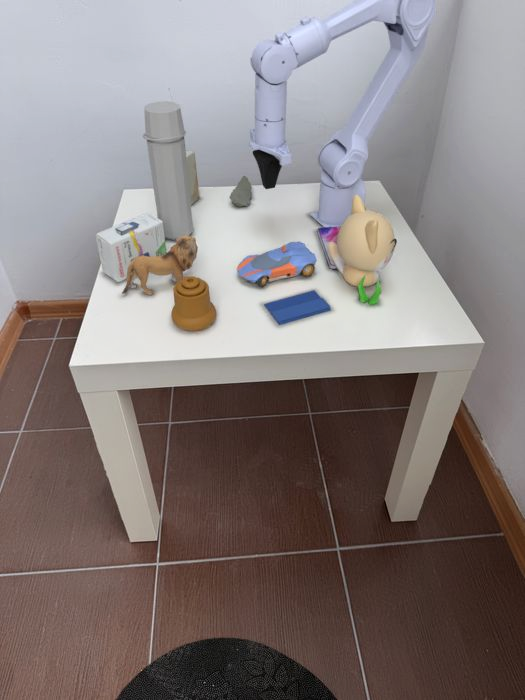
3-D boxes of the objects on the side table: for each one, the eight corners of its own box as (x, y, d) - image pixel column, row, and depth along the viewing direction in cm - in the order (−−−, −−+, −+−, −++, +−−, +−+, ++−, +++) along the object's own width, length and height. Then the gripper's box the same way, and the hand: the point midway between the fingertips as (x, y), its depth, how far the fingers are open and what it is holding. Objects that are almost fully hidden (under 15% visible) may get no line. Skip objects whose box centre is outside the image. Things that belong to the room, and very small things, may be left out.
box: (200, 198, 119) (196, 151, 112) (190, 206, 116) (186, 158, 109) (181, 194, 121) (176, 147, 113) (171, 201, 118) (165, 154, 110)
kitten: (401, 303, 90) (419, 227, 80) (346, 309, 88) (358, 233, 78) (372, 258, 101) (385, 186, 90) (323, 263, 99) (331, 190, 89)
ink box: (148, 211, 96) (92, 232, 90) (164, 221, 94) (108, 243, 87) (153, 250, 102) (101, 272, 96) (169, 260, 100) (117, 284, 93)
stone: (226, 206, 116) (247, 213, 116) (227, 198, 114) (248, 205, 115) (239, 179, 124) (258, 186, 125) (240, 172, 123) (260, 178, 123)
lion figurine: (195, 269, 97) (190, 227, 91) (205, 284, 94) (201, 241, 88) (119, 288, 92) (109, 245, 86) (126, 304, 89) (117, 261, 83)
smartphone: (330, 266, 97) (316, 227, 108) (329, 270, 97) (316, 231, 108) (367, 263, 97) (350, 225, 108) (366, 267, 98) (349, 229, 109)
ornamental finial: (211, 302, 89) (220, 329, 84) (169, 309, 88) (175, 336, 83) (208, 264, 84) (218, 290, 79) (163, 270, 83) (169, 297, 77)
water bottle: (200, 236, 106) (189, 110, 89) (164, 245, 103) (146, 116, 86) (185, 217, 112) (172, 95, 95) (151, 225, 109) (131, 101, 92)
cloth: (314, 291, 92) (314, 288, 92) (330, 310, 88) (331, 307, 88) (264, 305, 89) (264, 302, 89) (279, 325, 85) (279, 322, 85)
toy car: (230, 270, 97) (229, 245, 93) (300, 253, 102) (302, 229, 98) (247, 293, 92) (246, 268, 88) (320, 274, 96) (322, 250, 93)
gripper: (235, 107, 97) (237, 176, 106) (267, 132, 87) (266, 206, 96) (268, 103, 99) (267, 170, 108) (303, 127, 89) (299, 199, 99)
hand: (269, 187), depth 102 cm, fingers closed
